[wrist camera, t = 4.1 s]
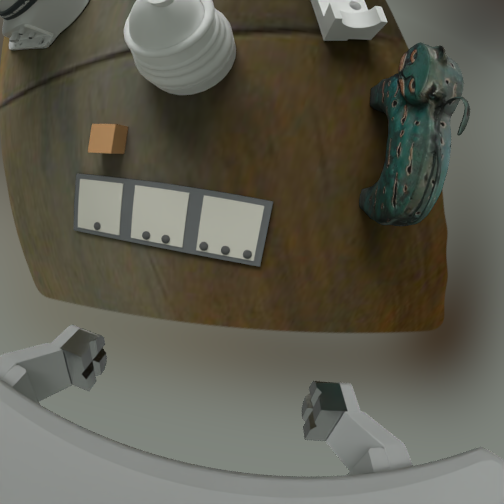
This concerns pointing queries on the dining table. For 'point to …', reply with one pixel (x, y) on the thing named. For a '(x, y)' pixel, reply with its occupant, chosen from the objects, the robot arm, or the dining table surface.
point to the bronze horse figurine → (415, 135)
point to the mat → (173, 217)
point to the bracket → (348, 19)
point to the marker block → (108, 138)
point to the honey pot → (180, 44)
